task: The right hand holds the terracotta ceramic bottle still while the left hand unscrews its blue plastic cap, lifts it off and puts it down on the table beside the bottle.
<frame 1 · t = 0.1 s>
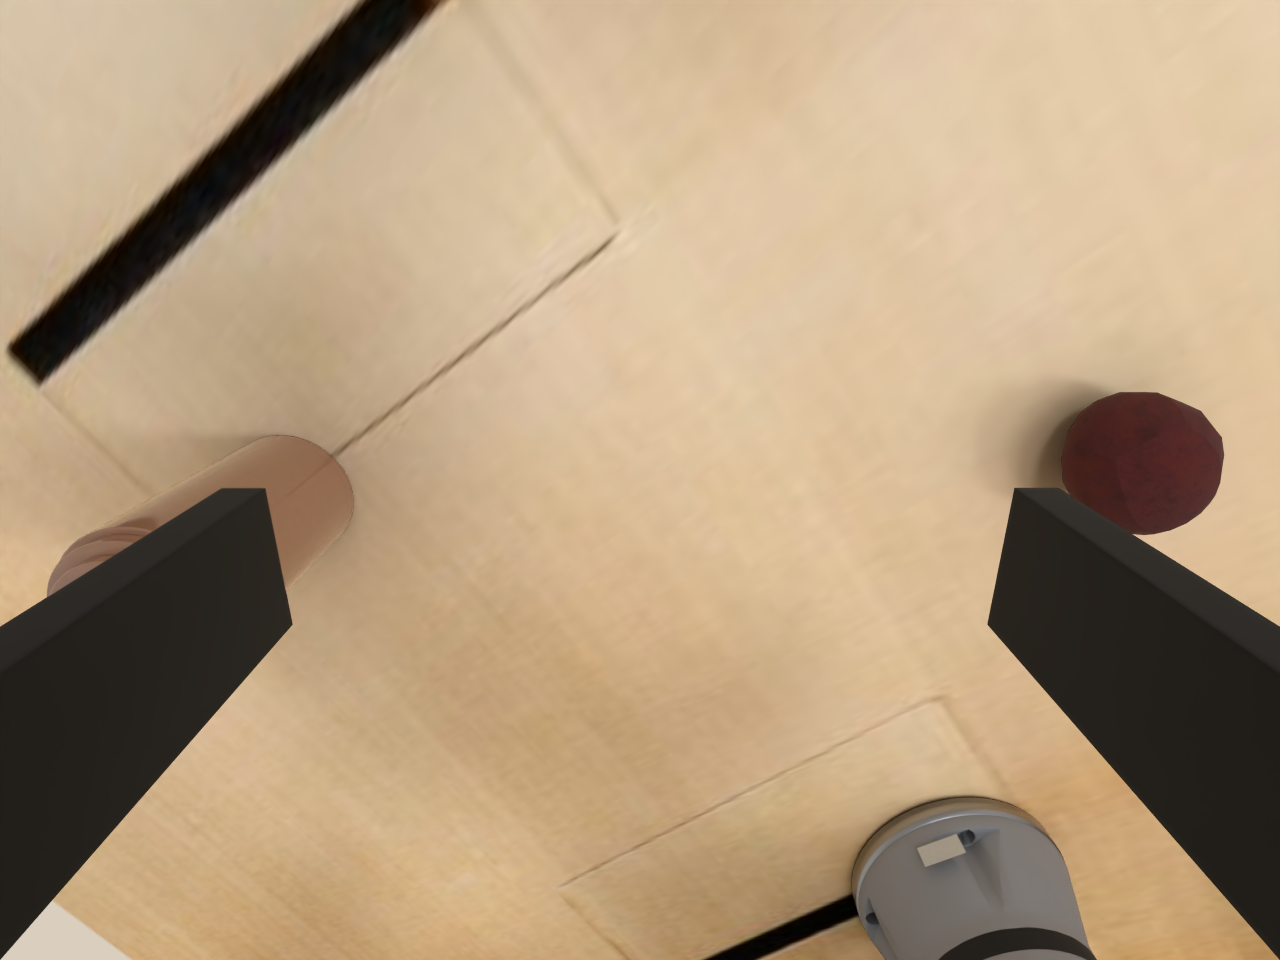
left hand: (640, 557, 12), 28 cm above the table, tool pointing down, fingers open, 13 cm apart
dark red plum: (1096, 441, 41), on the table
bottle: (291, 494, 42), on the table
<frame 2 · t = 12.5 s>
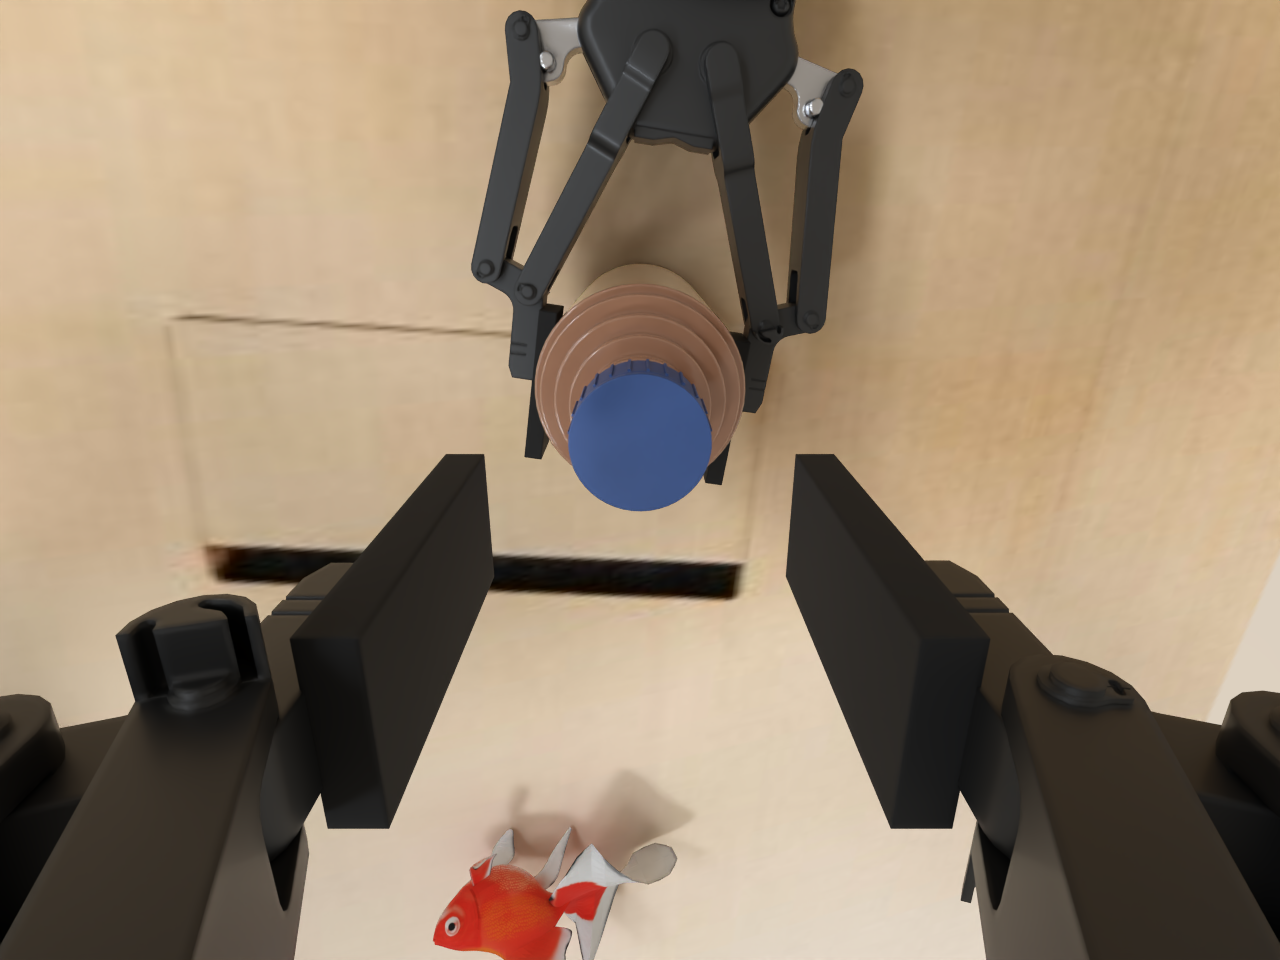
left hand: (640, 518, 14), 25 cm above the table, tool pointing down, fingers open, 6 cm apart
right hand: (624, 461, 33), fingers closed on bottle, 7 cm apart
fish: (565, 840, 49), on the table
cap: (640, 442, 19), point 19 cm above the table, screwed on, not yet turned
bottle: (640, 336, 37), on the table, touching right hand
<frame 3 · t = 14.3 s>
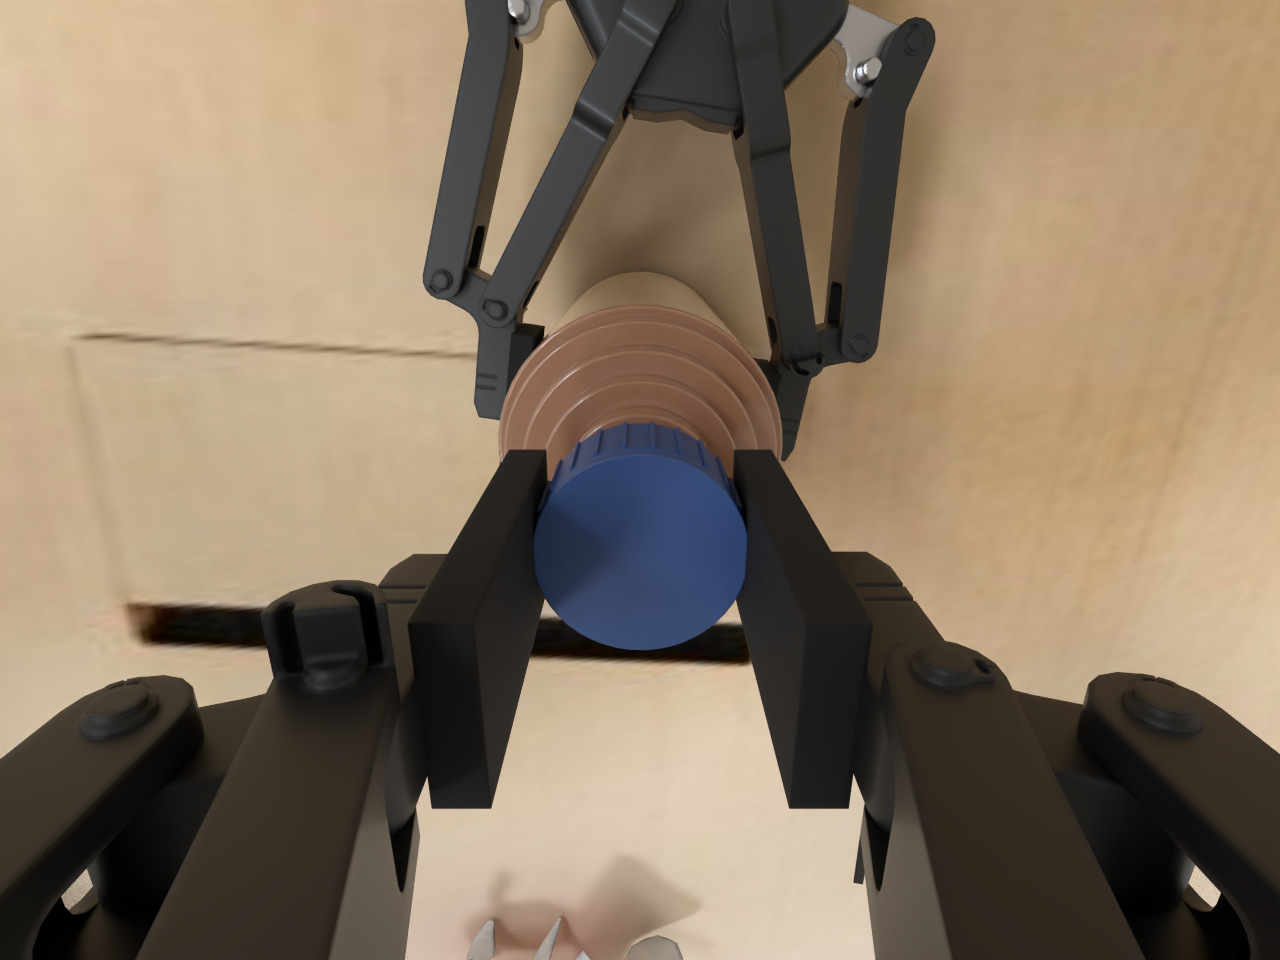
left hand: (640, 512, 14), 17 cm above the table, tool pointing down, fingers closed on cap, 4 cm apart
right hand: (621, 518, 26), fingers closed on bottle, 7 cm apart
fish: (554, 931, 43), on the table
cap: (640, 550, 13), point 19 cm above the table, screwed on, not yet turned, touching left hand
bottle: (640, 359, 31), on the table, touching right hand
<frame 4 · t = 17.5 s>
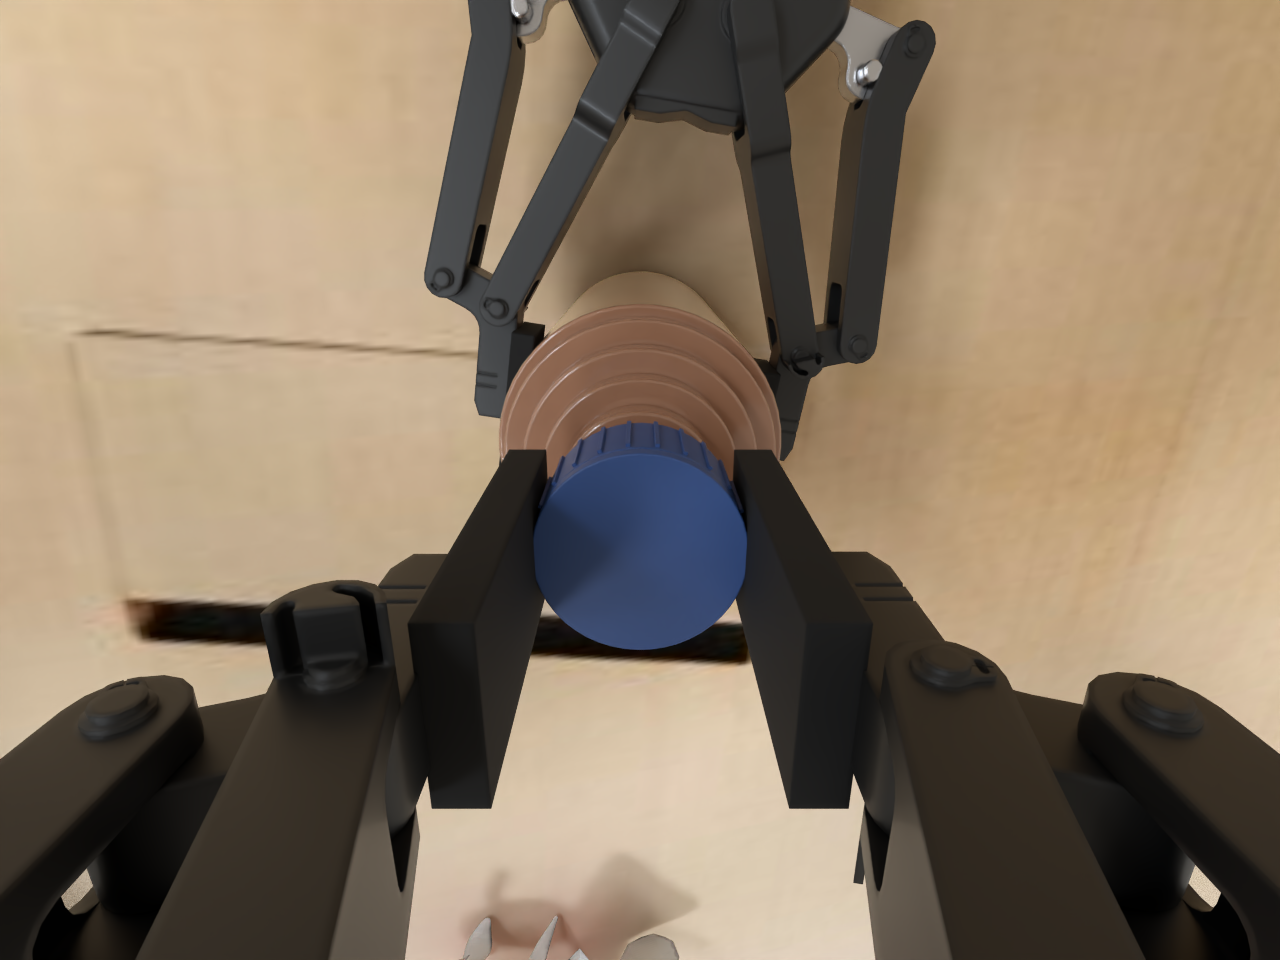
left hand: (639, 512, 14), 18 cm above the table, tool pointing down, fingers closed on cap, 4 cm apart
right hand: (620, 516, 26), fingers closed on bottle, 7 cm apart
fish: (551, 929, 43), on the table
cap: (640, 549, 13), point 19 cm above the table, turned 103° so far, risen 0.1 cm, still on its thread, touching left hand
bottle: (640, 358, 31), on the table, touching right hand
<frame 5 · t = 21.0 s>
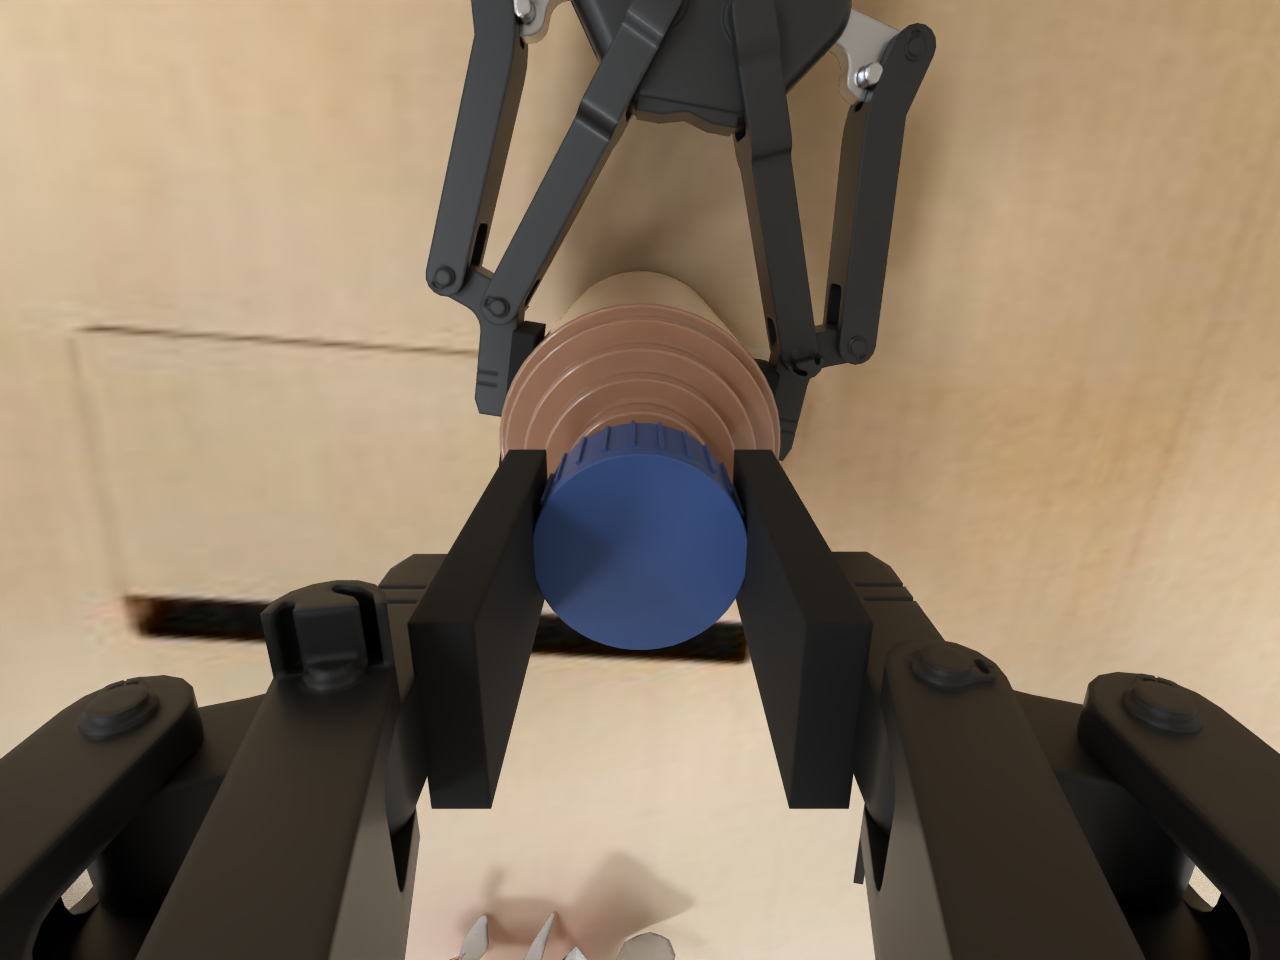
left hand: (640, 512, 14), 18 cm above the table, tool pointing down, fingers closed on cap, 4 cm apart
right hand: (619, 515, 26), fingers closed on bottle, 7 cm apart
fish: (547, 927, 43), on the table
cap: (640, 550, 13), point 19 cm above the table, turned 206° so far, risen 0.2 cm, still on its thread, touching left hand
bottle: (639, 358, 31), on the table, touching right hand
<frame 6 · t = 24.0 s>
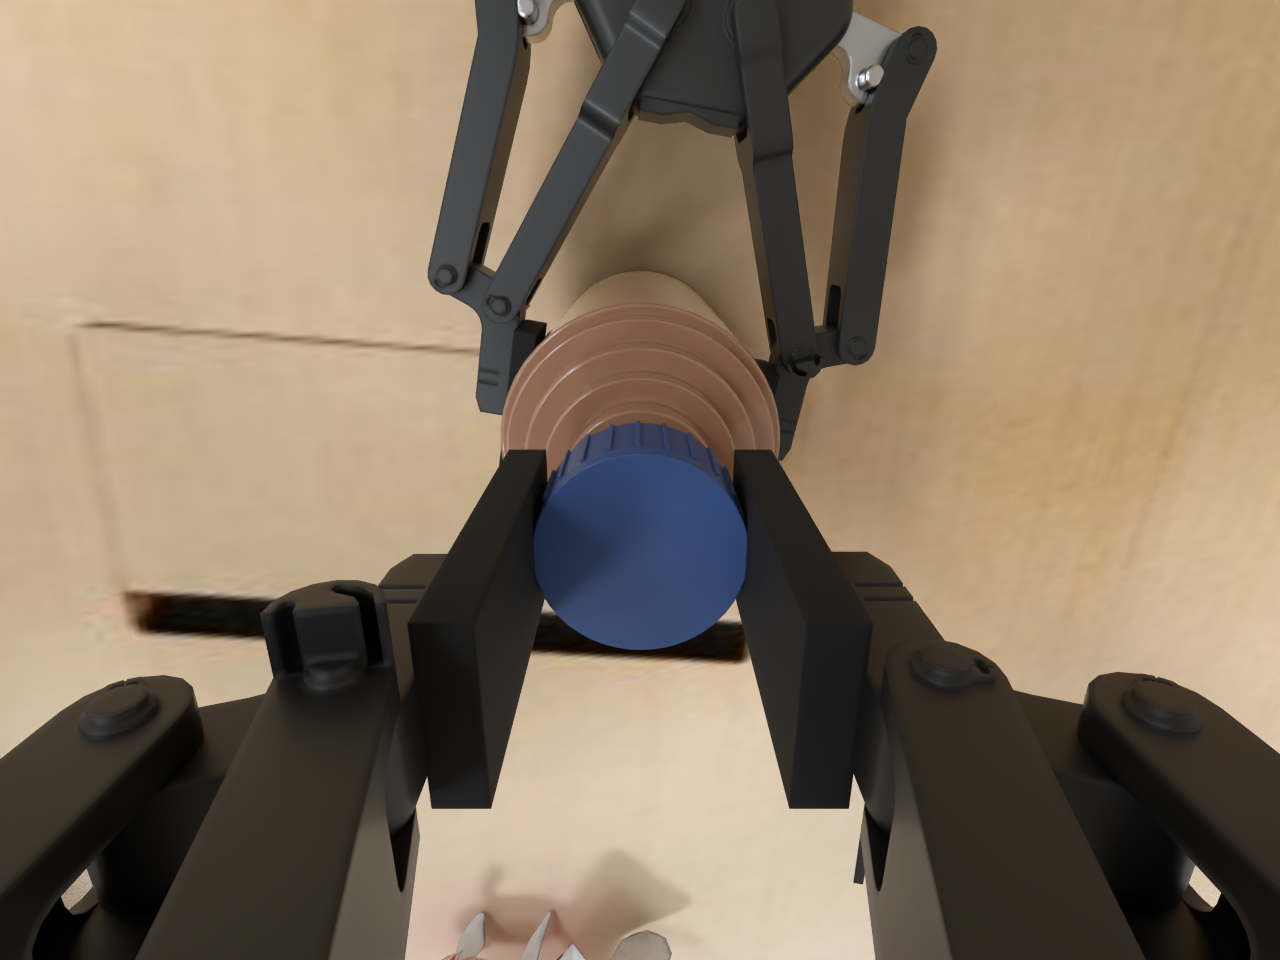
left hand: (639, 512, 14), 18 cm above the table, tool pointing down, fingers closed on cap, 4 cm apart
right hand: (618, 514, 26), fingers closed on bottle, 7 cm apart
fish: (544, 925, 43), on the table
cap: (640, 550, 13), point 20 cm above the table, turned 309° so far, risen 0.3 cm, still on its thread, touching left hand
bottle: (640, 357, 31), on the table, touching right hand
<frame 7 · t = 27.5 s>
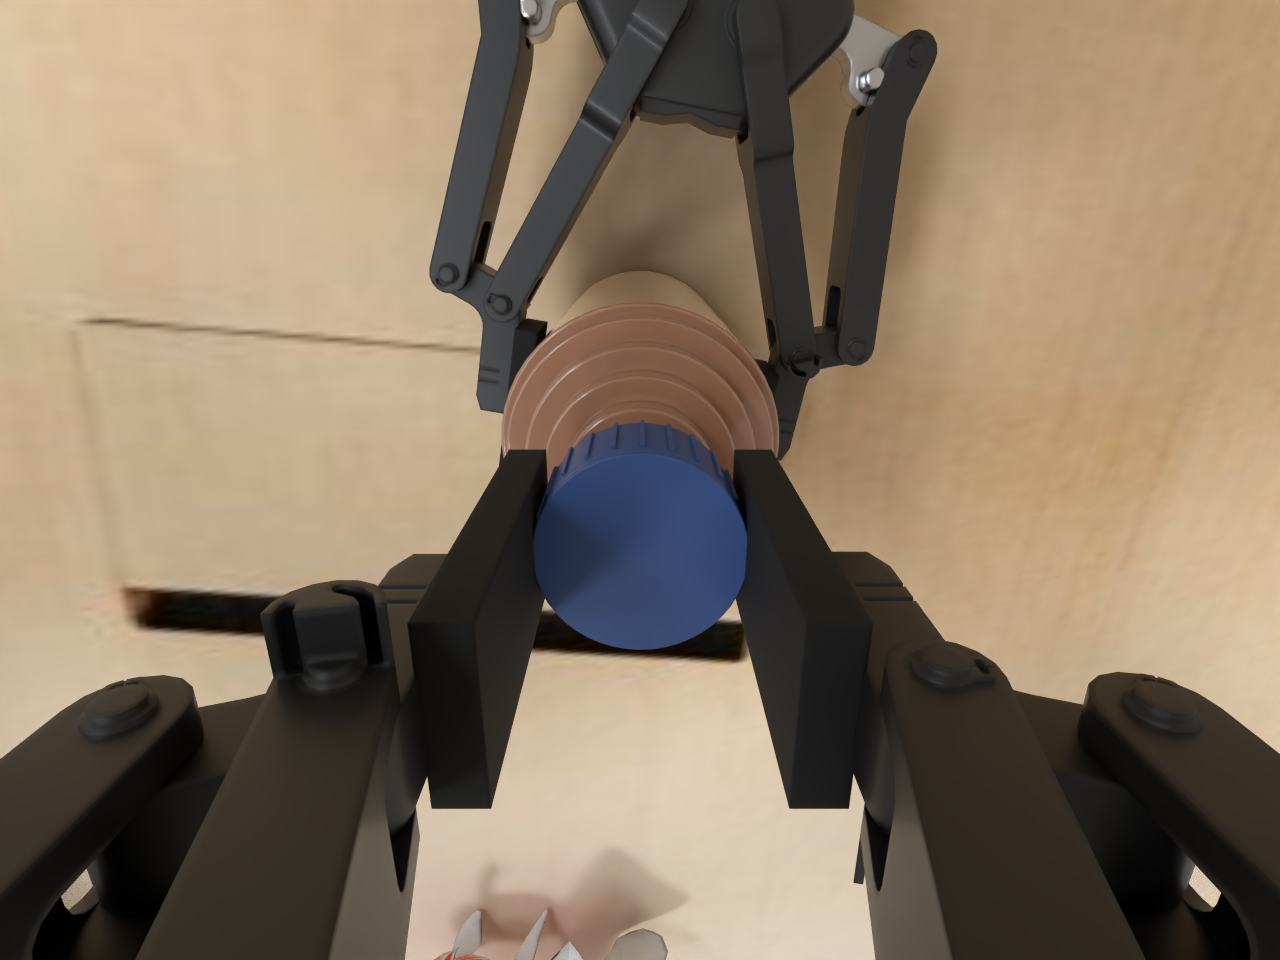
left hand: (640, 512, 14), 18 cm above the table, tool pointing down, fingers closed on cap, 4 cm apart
right hand: (618, 512, 27), fingers closed on bottle, 7 cm apart
fish: (540, 922, 43), on the table
cap: (640, 549, 13), point 20 cm above the table, turned 412° so far, risen 0.4 cm, still on its thread, touching left hand
bottle: (640, 357, 31), on the table, touching right hand
when the left hand's fingers open (2 cm above the table, at t = 34.6 s): cap drops 2 cm, point 2 cm above the table.
when the right hand's fingers open (7 cm above the table, at t = 35.9 s): bottle stays where it is, on the table.
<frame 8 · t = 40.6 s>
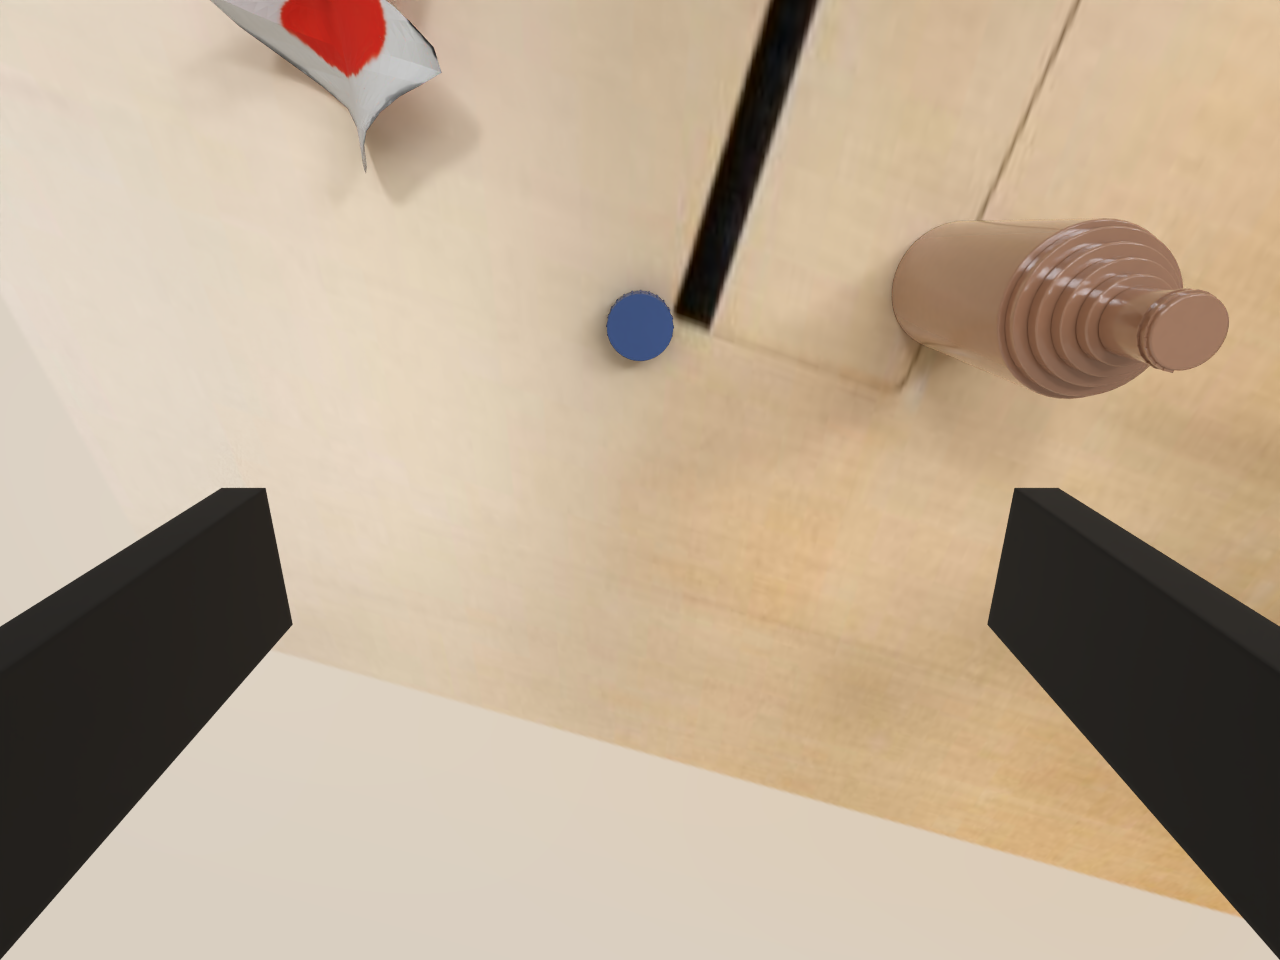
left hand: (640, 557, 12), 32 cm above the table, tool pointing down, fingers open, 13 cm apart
fish: (377, 16, 37), on the table
cap: (640, 327, 41), point 2 cm above the table, off its thread
bottle: (953, 286, 42), on the table
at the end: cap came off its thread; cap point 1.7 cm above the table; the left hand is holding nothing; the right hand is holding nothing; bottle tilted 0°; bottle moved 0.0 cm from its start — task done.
